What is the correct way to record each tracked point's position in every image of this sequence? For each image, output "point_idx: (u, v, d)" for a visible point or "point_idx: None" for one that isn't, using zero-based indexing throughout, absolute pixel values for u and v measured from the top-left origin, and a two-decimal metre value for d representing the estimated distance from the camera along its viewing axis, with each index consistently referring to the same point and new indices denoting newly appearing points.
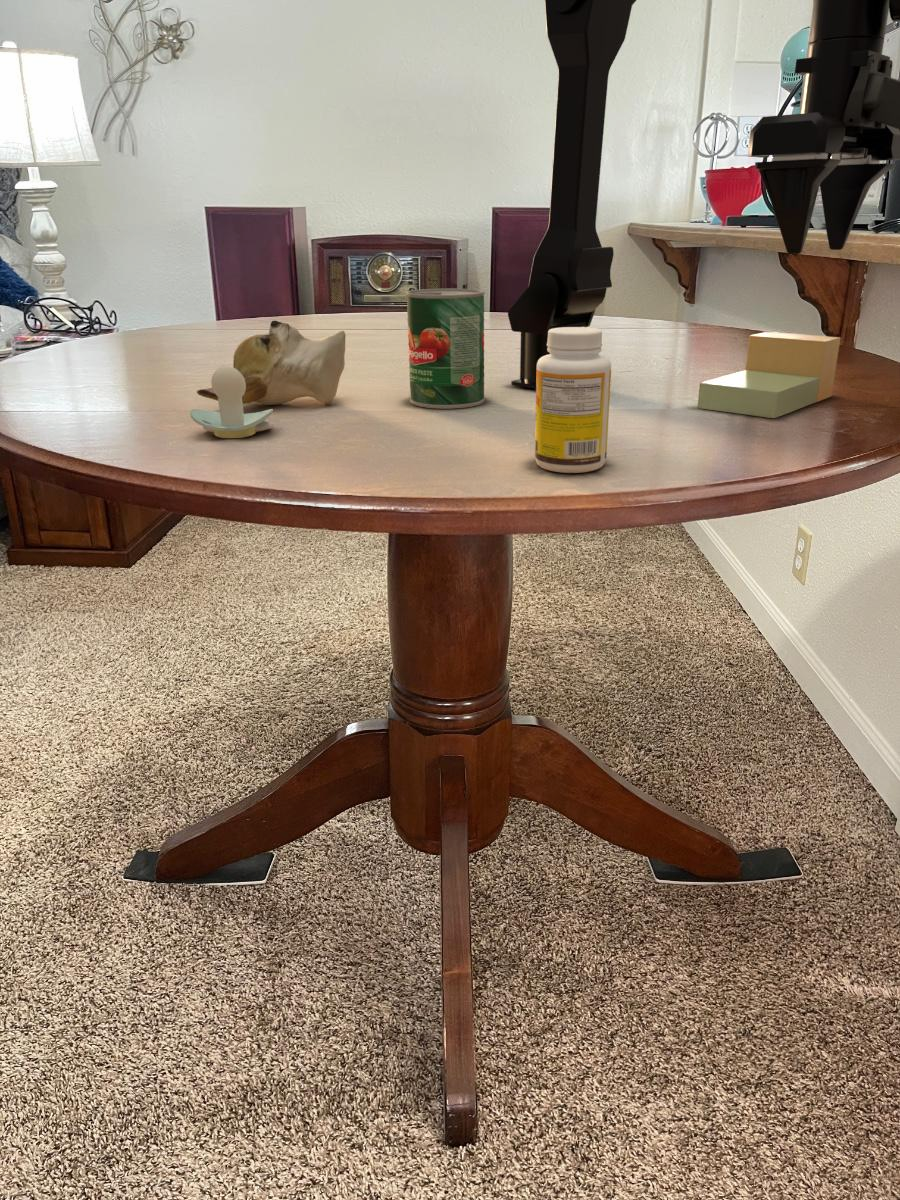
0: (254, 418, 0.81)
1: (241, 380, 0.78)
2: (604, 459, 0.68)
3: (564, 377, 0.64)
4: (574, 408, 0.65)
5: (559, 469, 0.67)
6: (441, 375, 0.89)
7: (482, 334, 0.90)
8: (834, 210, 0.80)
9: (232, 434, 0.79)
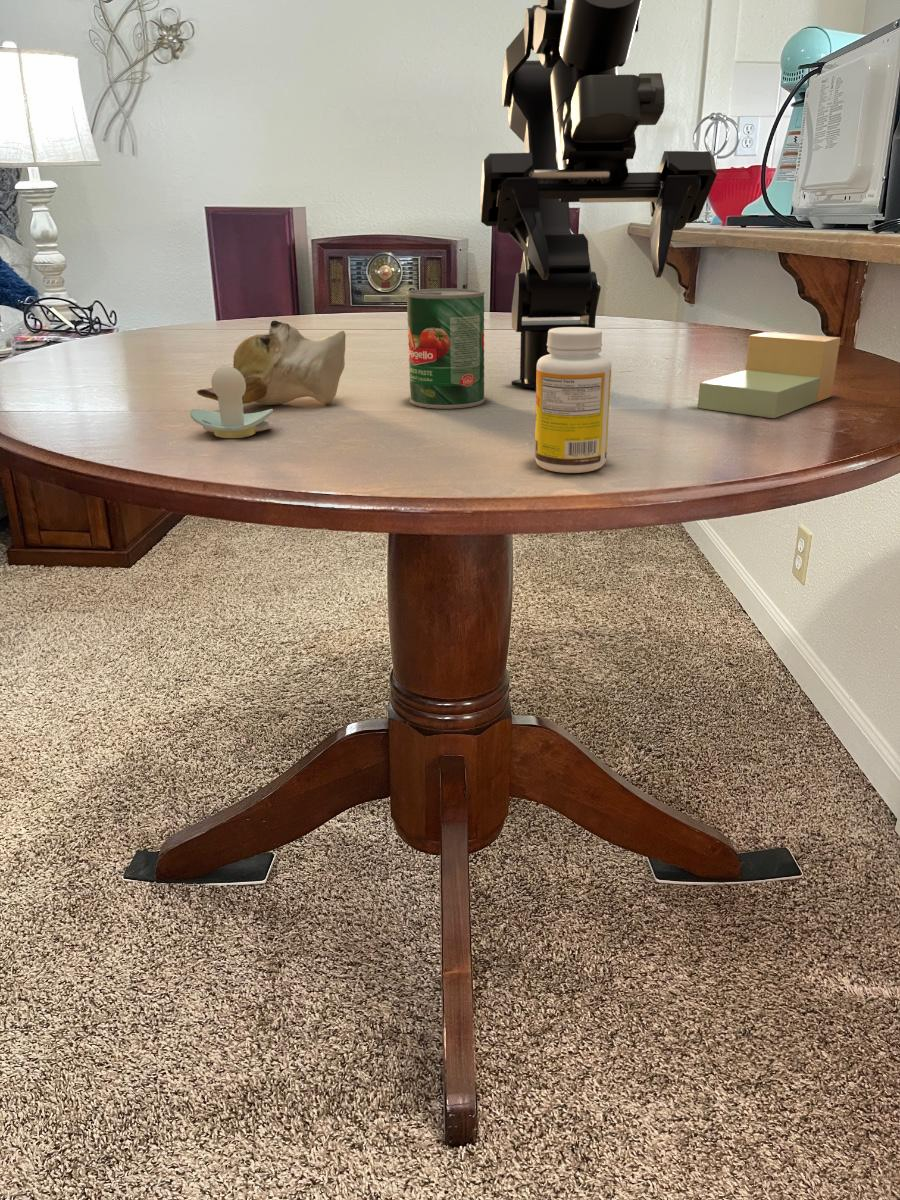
0: (254, 418, 0.81)
1: (241, 380, 0.78)
2: (604, 459, 0.68)
3: (564, 377, 0.64)
4: (574, 408, 0.65)
5: (559, 469, 0.67)
6: (441, 375, 0.89)
7: (482, 334, 0.90)
8: (654, 245, 0.73)
9: (232, 434, 0.79)
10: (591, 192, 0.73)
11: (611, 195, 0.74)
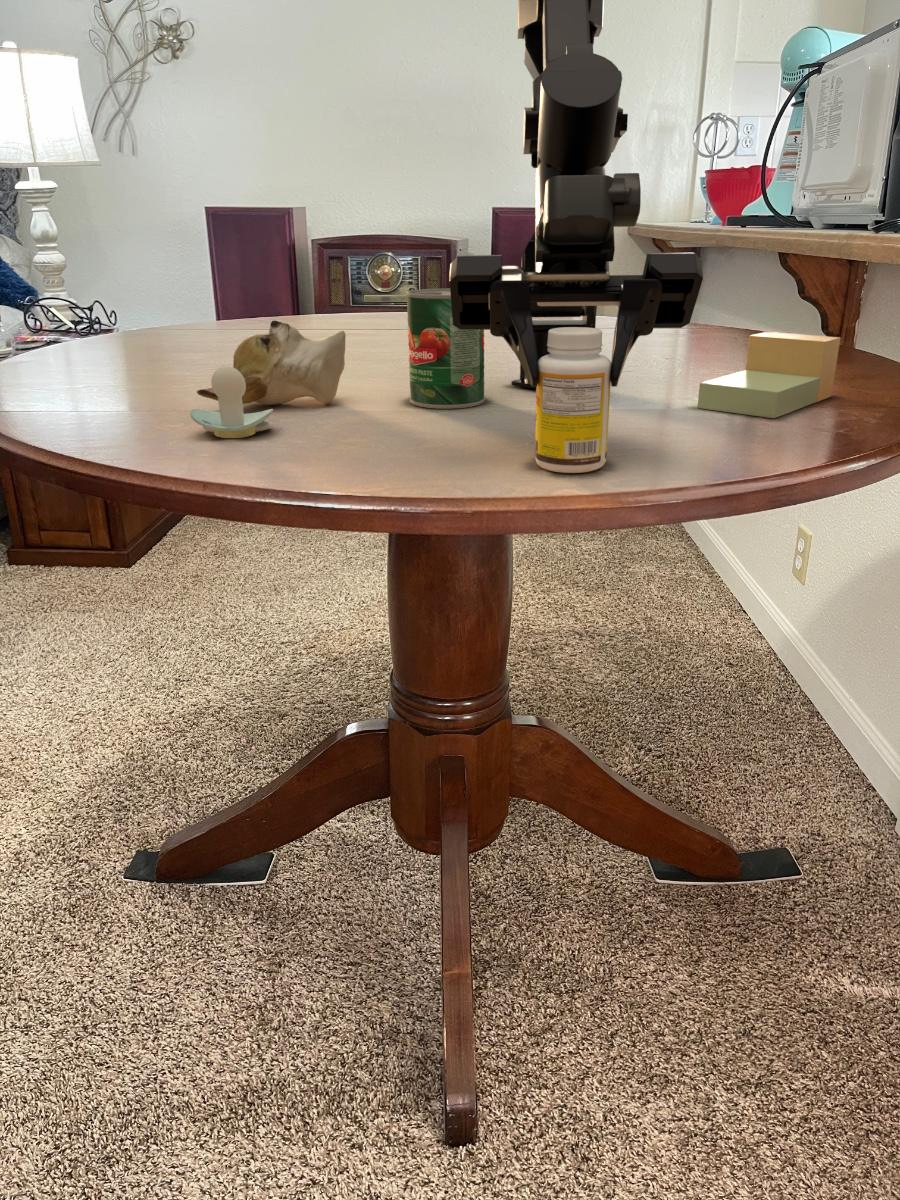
0: (254, 418, 0.81)
1: (241, 380, 0.78)
2: (604, 459, 0.68)
3: (564, 377, 0.64)
4: (575, 408, 0.65)
5: (559, 469, 0.67)
6: (441, 375, 0.89)
7: (482, 334, 0.90)
8: None
9: (232, 434, 0.79)
10: (546, 296, 0.68)
11: (569, 299, 0.68)
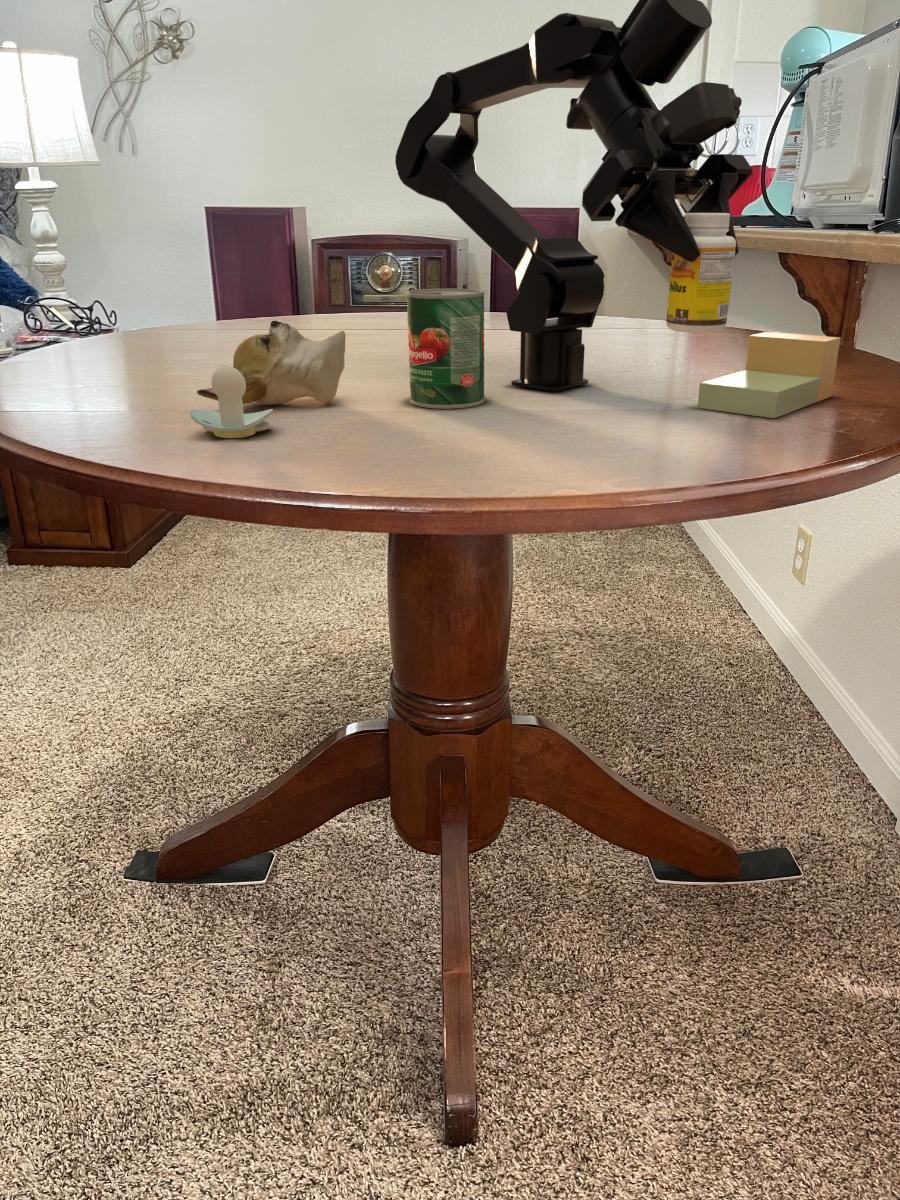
0: (254, 418, 0.81)
1: (242, 380, 0.78)
2: None
3: (723, 249, 0.79)
4: (726, 275, 0.81)
5: (711, 329, 0.82)
6: (441, 375, 0.89)
7: (482, 334, 0.90)
8: None
9: (232, 434, 0.79)
10: None
11: None
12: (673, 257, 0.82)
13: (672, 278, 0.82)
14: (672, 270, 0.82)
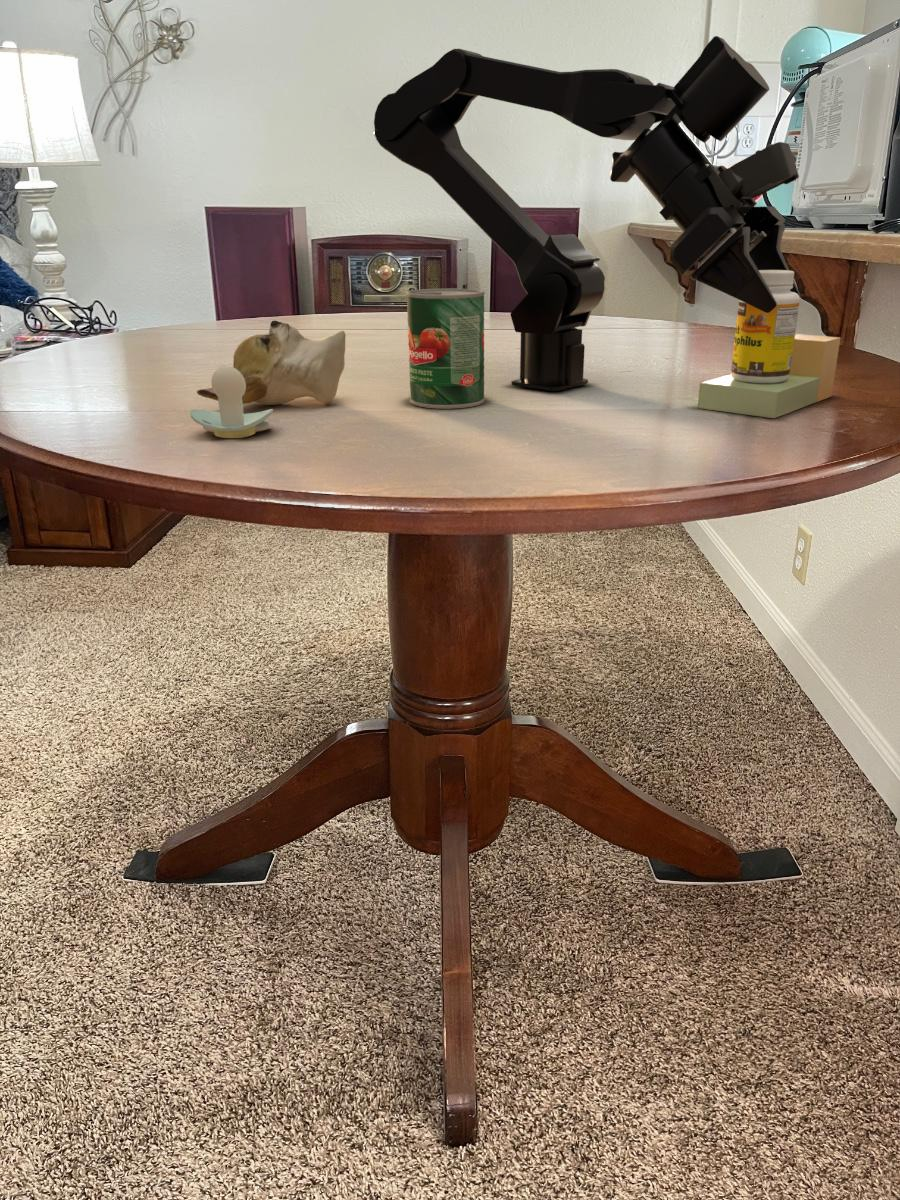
0: (254, 418, 0.81)
1: (241, 380, 0.78)
2: None
3: (794, 305, 0.84)
4: (795, 328, 0.85)
5: (782, 379, 0.86)
6: (441, 375, 0.89)
7: (482, 334, 0.90)
8: None
9: (232, 434, 0.79)
10: None
11: None
12: (743, 313, 0.85)
13: (743, 333, 0.86)
14: (742, 325, 0.86)
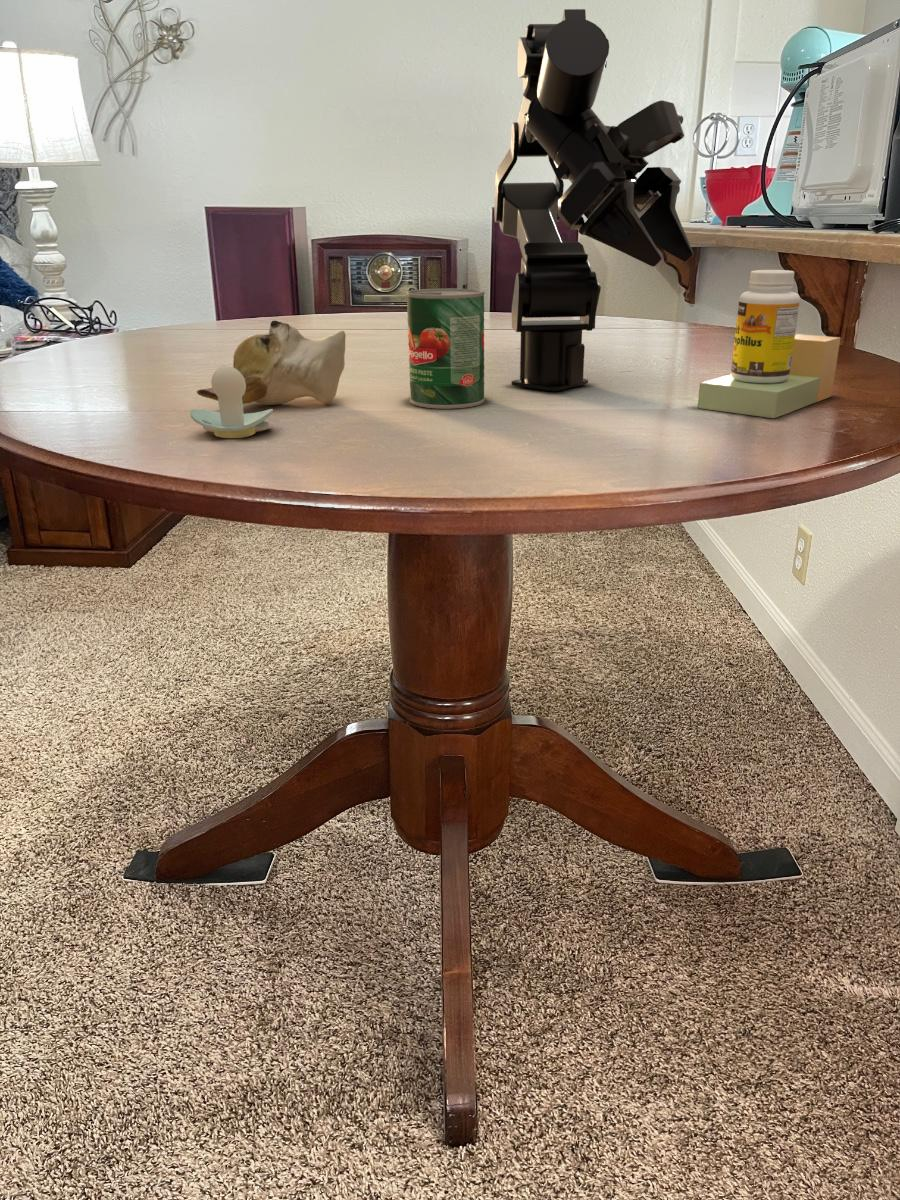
0: (254, 418, 0.81)
1: (241, 380, 0.78)
2: None
3: (794, 305, 0.84)
4: (795, 329, 0.85)
5: (782, 379, 0.86)
6: (441, 375, 0.89)
7: (482, 334, 0.90)
8: (665, 239, 0.92)
9: (232, 434, 0.79)
10: None
11: None
12: (743, 313, 0.85)
13: (743, 333, 0.86)
14: (742, 325, 0.86)
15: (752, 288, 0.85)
